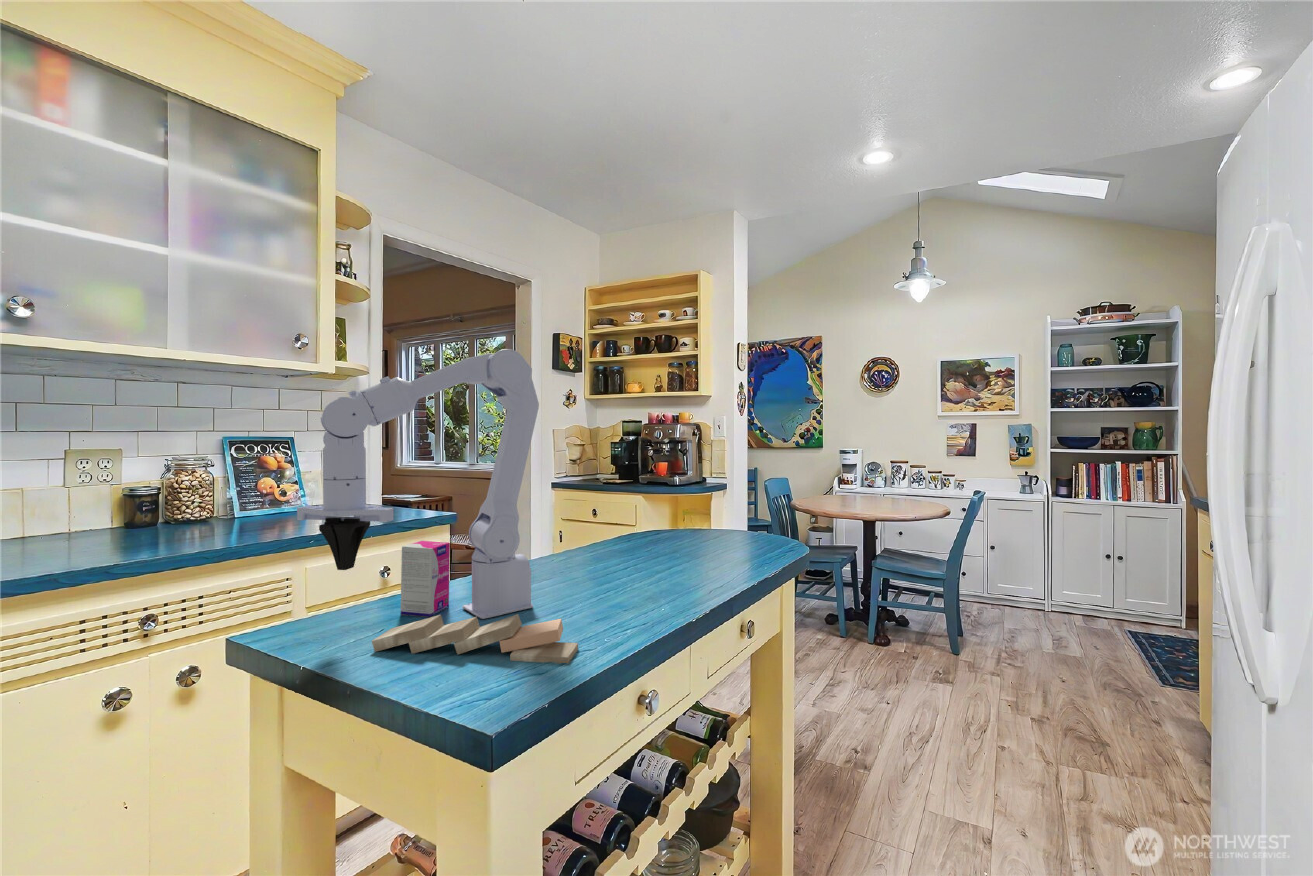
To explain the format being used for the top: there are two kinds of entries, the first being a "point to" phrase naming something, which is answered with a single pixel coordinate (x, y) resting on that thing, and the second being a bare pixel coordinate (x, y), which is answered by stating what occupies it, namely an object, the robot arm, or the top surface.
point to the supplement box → (425, 578)
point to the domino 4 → (533, 635)
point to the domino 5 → (546, 653)
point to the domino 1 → (407, 633)
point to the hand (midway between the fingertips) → (345, 568)
